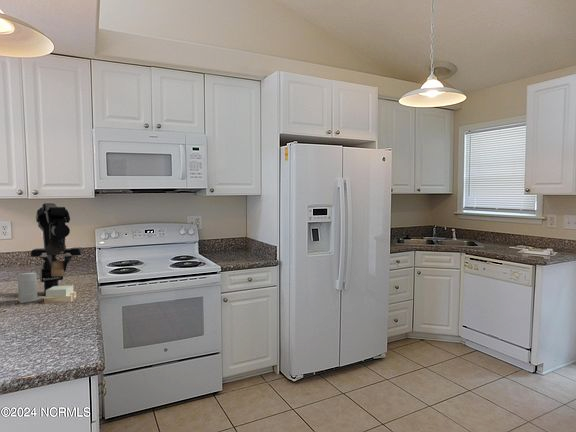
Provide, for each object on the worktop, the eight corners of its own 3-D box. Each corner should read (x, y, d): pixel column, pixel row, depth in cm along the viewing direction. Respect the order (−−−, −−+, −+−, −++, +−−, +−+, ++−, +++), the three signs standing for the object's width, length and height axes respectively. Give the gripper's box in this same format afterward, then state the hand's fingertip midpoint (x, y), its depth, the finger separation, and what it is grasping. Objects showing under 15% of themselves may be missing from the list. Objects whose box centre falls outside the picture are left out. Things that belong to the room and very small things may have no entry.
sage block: (54, 292, 170) (54, 286, 170) (73, 292, 172) (73, 285, 171) (45, 297, 162) (45, 290, 162) (66, 296, 164) (65, 289, 164)
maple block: (51, 299, 170) (51, 292, 170) (76, 297, 173) (76, 291, 173) (44, 305, 161) (44, 297, 161) (71, 303, 164) (70, 296, 164)
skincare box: (34, 298, 169) (33, 272, 168) (37, 300, 166) (36, 273, 166) (17, 301, 164) (17, 274, 164) (21, 303, 161) (20, 275, 161)
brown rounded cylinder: (53, 274, 167) (53, 260, 166) (66, 273, 168) (65, 260, 168) (49, 276, 162) (49, 262, 162) (63, 276, 163) (62, 262, 163)
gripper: (25, 238, 154) (26, 276, 154) (77, 237, 159) (77, 274, 160) (34, 235, 164) (35, 271, 165) (83, 234, 170) (83, 269, 171)
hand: (58, 271), depth 165 cm, fingers closed on brown rounded cylinder, 5 cm apart
